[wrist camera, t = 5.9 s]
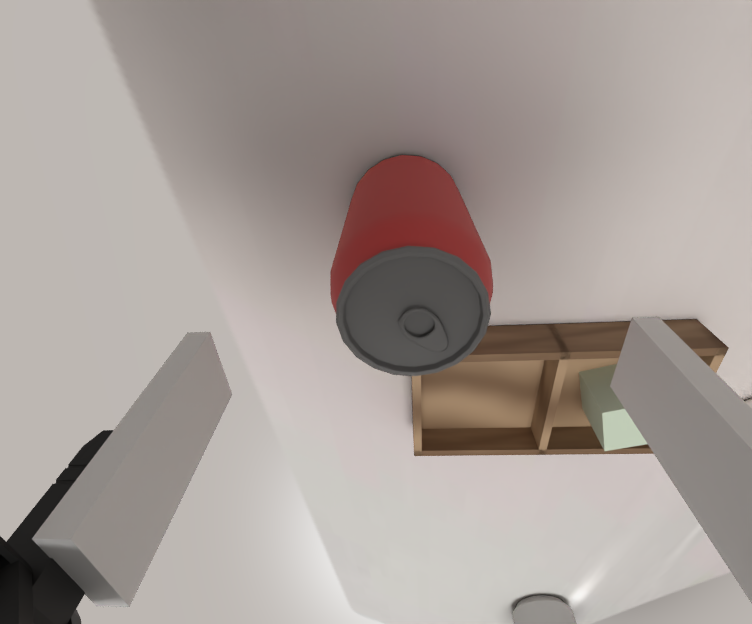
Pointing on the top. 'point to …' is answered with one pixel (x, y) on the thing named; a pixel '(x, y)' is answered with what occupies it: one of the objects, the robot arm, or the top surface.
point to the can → (543, 611)
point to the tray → (529, 390)
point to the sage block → (607, 410)
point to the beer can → (410, 271)
